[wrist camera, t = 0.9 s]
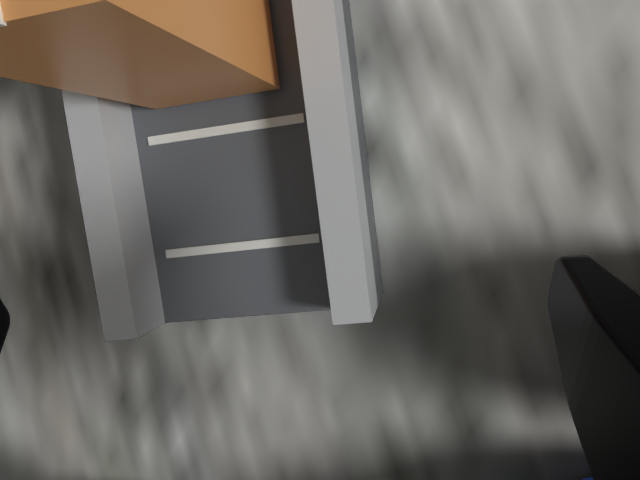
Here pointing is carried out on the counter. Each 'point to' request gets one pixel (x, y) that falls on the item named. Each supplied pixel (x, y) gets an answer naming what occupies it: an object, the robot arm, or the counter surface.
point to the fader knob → (141, 48)
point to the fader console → (235, 192)
